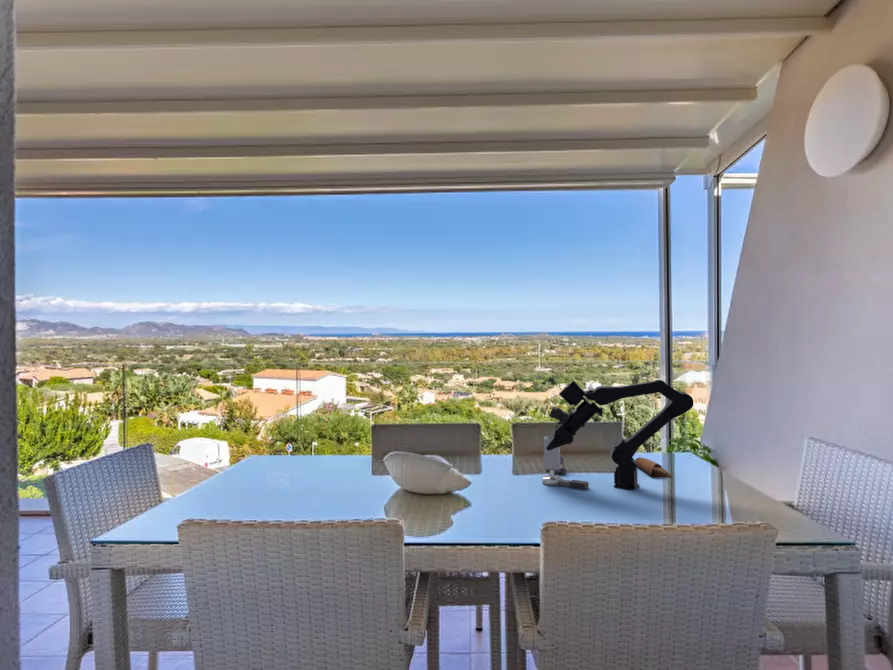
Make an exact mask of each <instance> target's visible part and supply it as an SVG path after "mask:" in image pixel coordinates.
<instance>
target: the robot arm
mask: <svg viewBox="0 0 893 670" xmlns="http://www.w3.org/2000/svg"><path fill="white" fill-rule="evenodd" d="M656 393H657V394H658V393H659V394H661V395H662V396H664V397H665V398H666V399H668V400H667V402H666V403H665V405H664V407H663V408H662V409H661V410H660V411H659V412H658V413H657V414H656V415H654V416H653V417H652V418H651V419H649V420H648V421H647V422H646V423H645V424H644V425H643V426H641V427H640V428H639V429H638V430H637V431H636V432H634V433H633V434H632V435H631V436H629V437H628V438H624V437H623V436H620V437H619V439H618V440H617V441H616V442H614V443H612V447H611V449H610V455H611V460H612V461H613V462H614V464H616V465H617V466H615V471H614V472H613V474H614V475H613V483H614V485H613V487H614V488H617V489H618V488H619V489H624V488H625V490H630V489H632V490H633V489H634V490H636V489H637V488H638V487H640V484H639V483H638V481H639V480H638V467H637V464H636V462H635V460H636V459H635V458H634V455H635V454H636V453H637V451H638V450H639V448H640V447H641V446H642V445H643V444H644V443H646V442H647V441H648V440H649V439H651V438H652V437H653V436H654V435H655V434H657V433H658V432H659V431H660V430H662V428H663V427H664V426H666V425H667V424H669V422H670V421H671V420H673V419H676V418H678V417H679V416H682V415H683V414H685V413H687V412H689V411H691V410H692V408H693V407H694V399H693V397H692V396H691V395H690V394H688V393H687V392H685V391H677V390H676V389H675V388H673V387H671V386H670V385H669V384H667V383H666V382H665V381H663V380H662V379H655V380H652V381H647V382H639V383H633V384H628V385H622V386H614V385H613V386H612V385H600V386H597V387H595V388H594V389H592V390H591V389H590V390H583V388H582V387H580V386H579V385H578V383H577V382H576V381H575V380H572V381H571V382H569V383H568V385H566V386H565V387H563V389H561V391H560V392H559V393H558V396H560V397H561V399H563V400H564V401H565V402H566V403H567V404H568V405H569V406H570V407H572V406H575V407H576V406H577V407H576V408H574V410H570V412H567V411H565V410H563V409H562V408H560V407H556V406H552V408H551V409H550V412H549V415H548V416H549V417H550V418H552V419H555V420H558V422H556V423H557V424H556V426H555V429H554V434H553V436H552V437H554V438H553V439H552V441H551V442H550V444H549V445H548V446H547V448H546V449H547V450H548V451H549V450H552V449H554V448H557V447H562V446H565V445H571V444H572V443H573V442H574V436H575V435H577V432H578V431H579V430H581V429H582V428H584V427H585V426H586V424H587V423H588V422H589V421H590V420H591V419H592V418H593V417H594V416H595V415H596V414H598V416H600V417H603V409H604V408H603V407H600V406H606V405H609V404H611V403H614V402H617V401H619V400H622V399H626V398H631V397H639V396H644V395H645V396H646V395H651V394H656ZM590 401H591V402H590ZM578 404H579V405H578ZM598 405H599V406H598ZM636 487H637V488H636ZM634 490H633V491H634Z"/></svg>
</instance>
